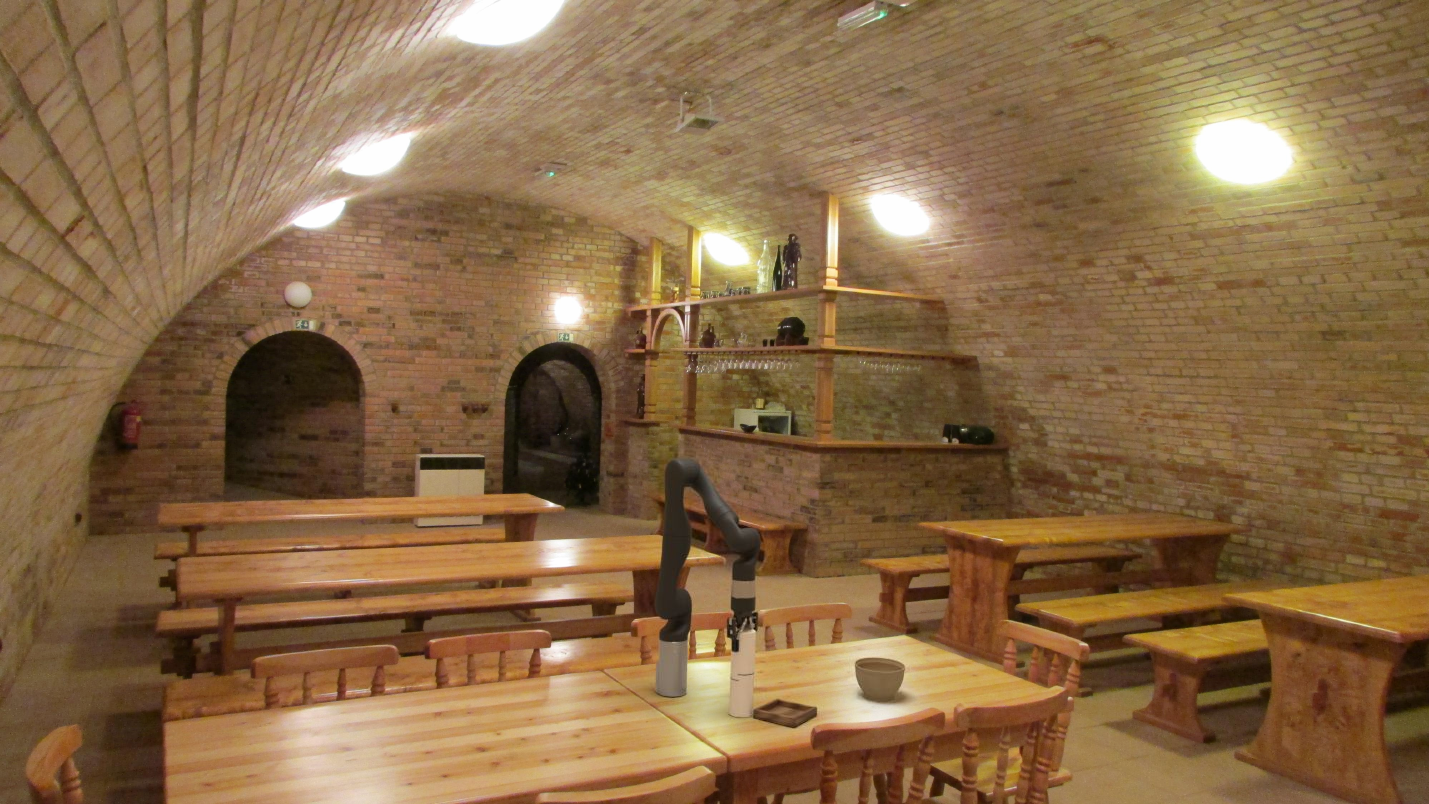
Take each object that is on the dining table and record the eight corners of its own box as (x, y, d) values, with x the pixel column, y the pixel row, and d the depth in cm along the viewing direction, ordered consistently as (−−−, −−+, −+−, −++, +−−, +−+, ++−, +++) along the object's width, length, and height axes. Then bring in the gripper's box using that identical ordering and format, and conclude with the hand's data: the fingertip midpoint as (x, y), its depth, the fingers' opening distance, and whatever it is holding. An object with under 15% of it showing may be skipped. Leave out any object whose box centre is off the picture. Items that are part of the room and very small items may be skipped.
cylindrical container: (750, 718, 288) (754, 634, 288) (727, 716, 289) (730, 632, 289) (754, 711, 295) (757, 628, 295) (730, 708, 296) (734, 627, 296)
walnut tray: (753, 717, 288) (753, 709, 288) (776, 706, 300) (777, 698, 300) (794, 727, 280) (794, 718, 280) (817, 715, 292) (817, 707, 292)
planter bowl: (848, 701, 307) (849, 667, 307) (860, 687, 322) (861, 654, 322) (898, 708, 301) (899, 673, 301) (908, 694, 316) (909, 661, 316)
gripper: (745, 590, 300) (744, 643, 300) (719, 596, 288) (718, 652, 288) (766, 592, 296) (765, 647, 296) (740, 599, 284) (739, 655, 284)
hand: (742, 649), depth 292 cm, fingers closed on cylindrical container, 7 cm apart
